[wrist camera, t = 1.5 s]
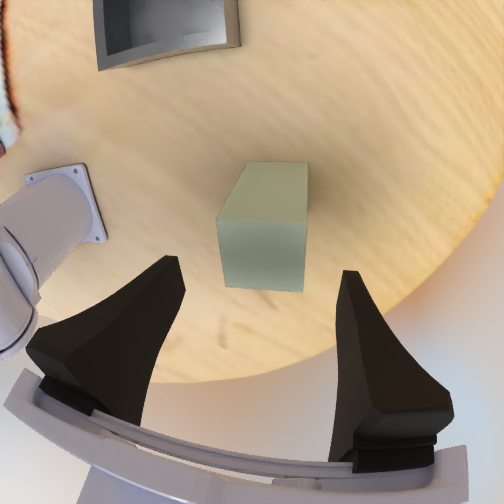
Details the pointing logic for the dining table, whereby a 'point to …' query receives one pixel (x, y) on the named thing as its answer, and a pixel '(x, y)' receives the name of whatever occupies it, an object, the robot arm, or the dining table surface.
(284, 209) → the green peg
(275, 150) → the dining table surface
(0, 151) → the video game controller
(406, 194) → the dining table surface
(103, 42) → the grey open box
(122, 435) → the robot arm
